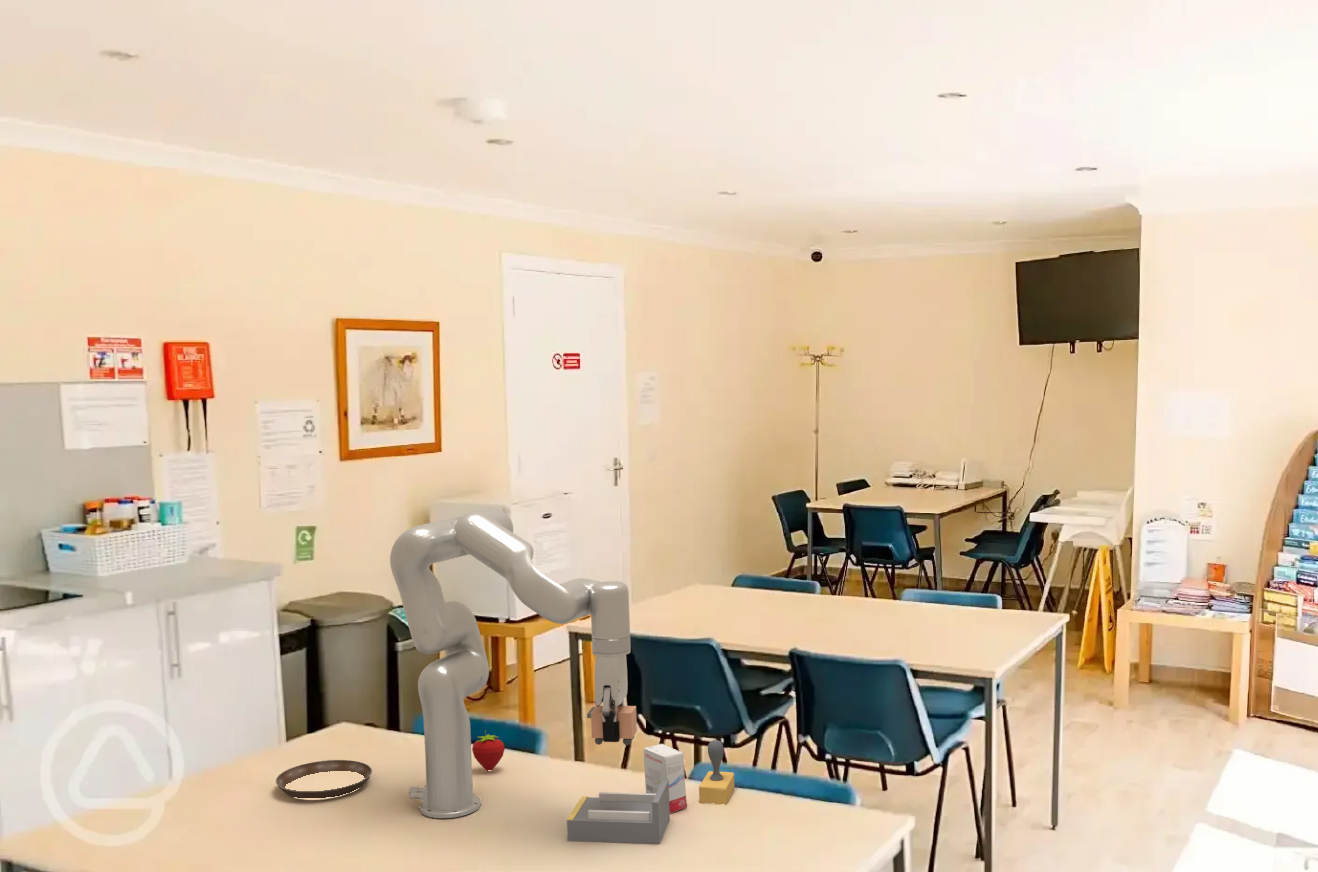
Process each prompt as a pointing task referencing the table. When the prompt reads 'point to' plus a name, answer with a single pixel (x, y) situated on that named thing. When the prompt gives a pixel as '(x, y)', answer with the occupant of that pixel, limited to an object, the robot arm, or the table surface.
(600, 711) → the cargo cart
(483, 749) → the strawberry
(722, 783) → the rubber stamp
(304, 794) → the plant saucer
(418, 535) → the robot arm
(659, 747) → the ink box
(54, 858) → the table surface
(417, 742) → the table surface
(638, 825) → the loading dock
